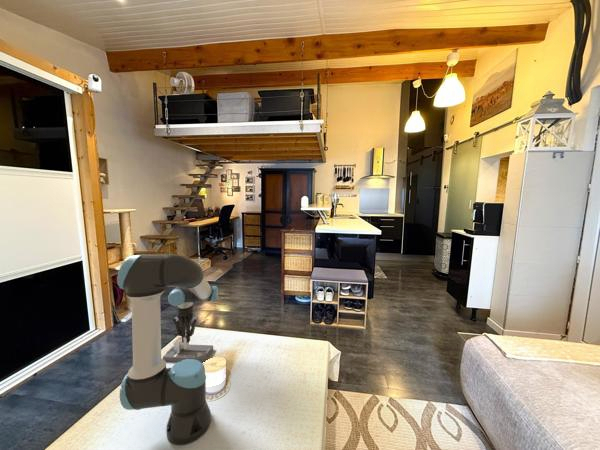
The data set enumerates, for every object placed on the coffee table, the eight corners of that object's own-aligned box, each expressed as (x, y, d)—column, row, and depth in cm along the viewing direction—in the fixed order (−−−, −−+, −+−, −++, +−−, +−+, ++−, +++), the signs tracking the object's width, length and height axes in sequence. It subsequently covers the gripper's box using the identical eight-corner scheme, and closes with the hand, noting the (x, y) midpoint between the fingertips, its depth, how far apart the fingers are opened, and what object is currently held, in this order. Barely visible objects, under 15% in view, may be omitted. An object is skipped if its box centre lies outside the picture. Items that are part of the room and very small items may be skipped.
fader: (179, 353, 130) (178, 342, 129) (173, 352, 130) (173, 342, 129) (184, 347, 135) (183, 337, 134) (178, 347, 135) (178, 336, 134)
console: (204, 363, 126) (203, 355, 125) (162, 361, 127) (162, 354, 126) (213, 349, 138) (213, 342, 137) (175, 348, 139) (175, 341, 138)
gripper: (200, 303, 133) (201, 344, 135) (177, 302, 134) (178, 343, 136) (194, 309, 126) (194, 352, 128) (169, 308, 126) (170, 351, 128)
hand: (186, 347), depth 132 cm, fingers closed
